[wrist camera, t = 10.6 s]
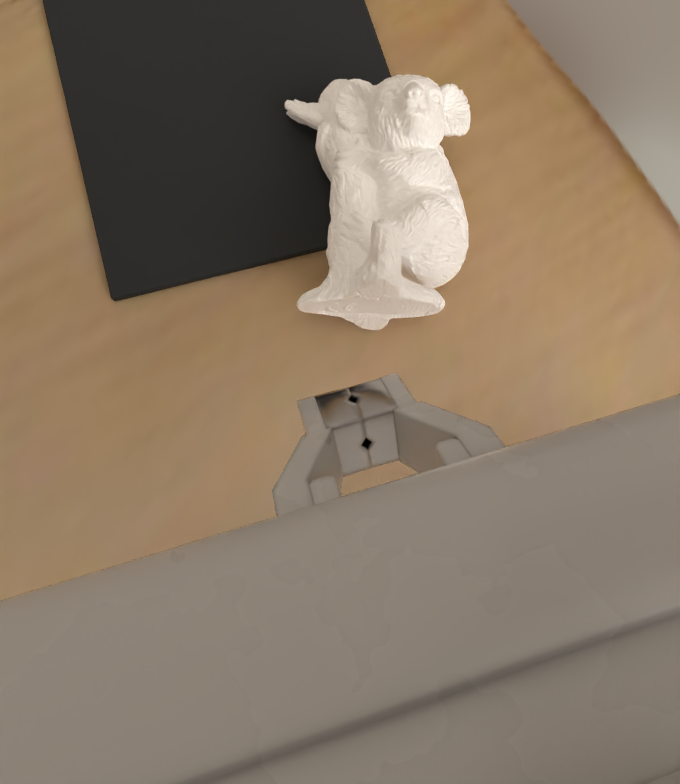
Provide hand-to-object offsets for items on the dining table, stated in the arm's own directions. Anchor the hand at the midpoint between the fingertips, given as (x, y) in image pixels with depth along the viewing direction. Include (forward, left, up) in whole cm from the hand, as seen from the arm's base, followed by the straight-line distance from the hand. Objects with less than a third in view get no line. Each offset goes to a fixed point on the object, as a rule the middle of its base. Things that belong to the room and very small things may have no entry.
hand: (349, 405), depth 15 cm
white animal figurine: (-1, +5, -5) cm, 7 cm away
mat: (-14, +13, -8) cm, 21 cm away
